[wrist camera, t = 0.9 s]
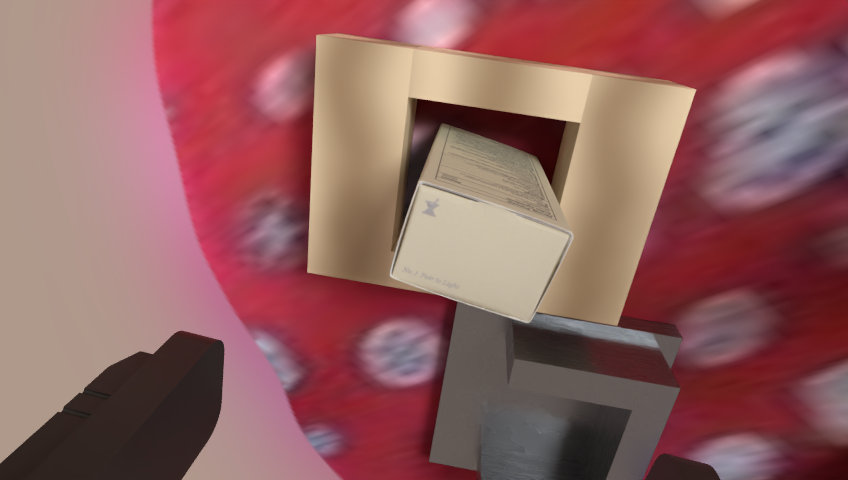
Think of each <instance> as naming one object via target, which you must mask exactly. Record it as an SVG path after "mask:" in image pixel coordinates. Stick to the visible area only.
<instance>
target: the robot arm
mask: <svg viewBox="0 0 848 480" xmlns="http://www.w3.org/2000/svg"><path fill="white" fill-rule="evenodd" d="M223 366H224V344H223V342H222V341H221V340H217V339H213V338H209V337H205V336H201V335H197V334H193V333H189V332H185V331H178V332H176V333H175V334H174V335H172V336H171V337H170V338H169V339H168V340H167V341H166V342H165V343H164V344H163V345H162V346H161V347H160V348H159V349H158V350H157V351H156V352H155V353H154V354H149V353H145V352H138V353H136V354H134V355H132V356H130V357H128V358H126V359H123V360H121V361H119V362H117V363H115V364H113V365H111V366H109V367H108V368H107V369H106V370H104V371H103V372H102V373H101V374H100V375H99V376H98V377H97V378H96V379H94V380H93V381H92V382H91V383H90V384H89V385H88V386H87V387H85V389H84V392H83V393H79V394H78V395H76V396H75V397H74V398H73V399H72V400H71V401H70V402H69V403H68V404H66V405H65V406H64V408H63V411H62V412H57V413H56V414H55V415H54V416H53V417H52V418H51V419H50V420H49V421H47V422H46V423H45V424H44V425H43V426H42V427H41V428H40V429H39V430H38V431H36V432H35V433H34V434H33V435H32V436H31V437H29V438H28V439H27V440H26V441H25V442H24V443H23V444H22V445H21V446H19V447H18V448H17V449H16V450H15V451H14V452H13V453H12V454H10V455H9V456H8V457H7V458H6V459H5V460H4V461H3V462H2V463H0V480H182V478H183V477H184V475H185V474H186V472H187V471H188V469H189V468H190V466H191V465H192V463H193V462H194V460H195V459H196V458H197V456H198V455H199V453H200V452H201V450H202V449H203V447H204V446H205V444H206V443H207V441H208V440H209V438H210V436H211V435H212V433H213V431H214V428H215V426H216V423H217V421H218V418H219V414H220V410H221V403H222V383H223ZM645 480H720V478H719V476H718V474H717V473H716V471H715V470H714V469H713V467H711V466H710V465H708V464H705V463H701V462H697V461H693V460H689V459H685V458H681V457H677V456H673V455H669V454H662V455H660V456H659V457H658V458H657V459H656V461H655V463H654V465H653V466H652V468H651V470H650V472H649V474H648V476H647V477H646V479H645Z"/></svg>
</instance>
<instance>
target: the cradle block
mask: <svg viewBox="0 0 848 480" xmlns="http://www.w3.org/2000/svg"><path fill="white" fill-rule="evenodd" d="M682 340H683V338H682V336H681V334H680V333H679V331H678V329H677V328H676V326H675V325H671V324H665V323H659V322H653V321H647V320H641V319H636V318H630V317H624V316H620V319H619V322H618V325H617V326H614V325H609V324H603V323H597V322H591V321H585V320H580V319H574V318H568V317H562V316H556V315H551V314H545V313H539V312H536V313H535V315H534V317H533V319H532V320H531V322H530V323H524V322H522V321H518V320H514V319H511V318H508V317H505V316H502V315H499V314H496V313H492V312H489V311H486V310H483V309H480V308H477V307H473V306H470V305H467V304H464V303H462V302H458V301H457V304H456V310H455V315H454V321H453V327H452V332H451V338H450V343H449V349H448V355H447V360H446V366H445V371H444V377H443V383H442V388H441V394H440V399H439V405H438V411H437V416H436V422H435V428H434V433H433V439H432V444H431V451H430V458H429V462H434V463H439V464H444V465H449V466H454V467H460V468H465V469H470V470H475V471H477V477H476V480H642V479H643V477H644V475H645V472H646V470H647V467H648V465H649V463H650V460H651V458H652V455H653V453H654V451H655V448H656V446H657V444H658V441H659V439H660V436H661V434H662V432H663V429H664V427H665V424H666V422H667V420H668V417H669V415H670V412H671V410H672V408H673V405H674V403H675V401H676V398H677V396H678V393H679V391H680V389H681V388H680V386H679V385H678V383H677V381H676V379H675V377H674V375H673V373H672V371H671V367H672V365H673V362H674V360H675V357H676V355H677V352H678V350H679V347H680V345H681V342H682Z"/></svg>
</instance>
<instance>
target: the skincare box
mask: <svg viewBox="0 0 848 480" xmlns="http://www.w3.org/2000/svg"><path fill="white" fill-rule="evenodd" d="M573 238H574V235H573V233H572V231H571V229H570V227H569V224H568V222H567V220H566V218H565V216H564V214H563V212H562V209H561V207H560V205H559V203H558V201H557V198H556V196H555V194H554V192H553V190H552V188H551V186H550V184H549V181H548V179H547V177H546V175H545V173H544V171H543V168H542V166H541V164H540V162H539V160H538V158H537V157H536V156H534V155H531V154H529V153H526V152H524V151H521V150H518V149H516V148H513V147H510V146H508V145H505V144H502V143H500V142H497V141H494V140H491V139H488V138H485V137H483V136H480V135H477V134H474V133H471V132H468V131H466V130H463V129H459V128H456V127H453V126H450V125H447V124H441V125H440V127H439V130H438V132H437V135H436V138H435V140H434V143H433V145H432V148H431V150H430V153H429V155H428V158H427V160H426V163H425V165H424V168H423V171H422V173H421V176H420V178H419V181H418V183H417V186H416V189H415V192H414V195H413V197H412V200H411V203H410V206H409V209H408V212H407V215H406V218H405V220H404V224H403V227H402V230H401V233H400V236H399V239H398V243H397V246H396V249H395V253H394V256H393V260H392V263H391V267H390V271H389V275H390V277H391V278H393V279H396V280H398V281H401V282H403V283H406V284H409V285H412V286H414V287H417V288H420V289H423V290H426V291H428V292H431V293H434V294H437V295H440V296H443V297H446V298H449V299H452V300H455V301H458V302H462V303H464V304H467V305H470V306H473V307H477V308H480V309H483V310H486V311H489V312H492V313H496V314H499V315H502V316H505V317H508V318H511V319H514V320H518V321H522V322H524V323H530V322H531V320H532V319H533V317H534V315H535V313H536V311H537V309H538V307H539V305H540V304H541V302H542V300H543V298H544V296H545V294H546V292H547V291H548V288H549V286H550V285H551V283H552V281H553V279H554V277H555V275H556V273H557V271H558V269H559V267H560V265H561V263H562V261H563V259H564V257H565V255H566V253H567V251H568V249H569V247H570V245H571V243H572V241H573Z"/></svg>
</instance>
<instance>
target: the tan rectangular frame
mask: <svg viewBox="0 0 848 480" xmlns="http://www.w3.org/2000/svg"><path fill="white" fill-rule="evenodd" d="M695 92H696V89H692V88H689V87H686V86H683V85H680V84H677V83H674V82H671V81H667V80H660V79H653V78H646V77H639V76H632V75H625V74H618V73H611V72H604V71H597V70H590V69H583V68H576V67H569V66H562V65H556V64H549V63H542V62H535V61H528V60H521V59H514V58H507V57H500V56H493V55H486V54H479V53H472V52H465V51H458V50H451V49H444V48H437V47H430V46H423V45H416V44H409V43H402V42H395V41H388V40H382V39H375V38H368V37H361V36H354V35H347V34H340V33H338V34H323V35H317V38H316V64H315V90H314V115H313V141H312V166H311V192H310V218H309V243H308V269H307V272H308V273H313V274H319V275H325V276H331V277H336V278H342V279H348V280H354V281H360V282H365V283H371V284H377V285H383V286H389V287H394V288H400V289H406V290H412V291H417V292H423V293H429V294H434V293H431V292H428V291H426V290H423V289H420V288H417V287H414V286H412V285H409V284H406V283H403V282H401V281H398V280H396V279H393V278H391V277H390V275H389V271H390V267H391V263H392V260H393V256H394V253H395V249H396V246H397V243H398V239H399V236H400V233H401V230H402V227H403V226H402V223H403V214H404V206H405V198H406V189H407V181H408V173H409V164H410V156H411V147H412V139H413V131H414V122H415V114H416V105H417V98H418V99H424V100H431V101H438V102H444V103H451V104H458V105H464V106H471V107H478V108H484V109H491V110H498V111H504V112H511V113H518V114H524V115H531V116H538V117H544V118H551V119H558V120H564V121H566V125H565V129H564V133H563V137H562V141H561V146H560V150H559V154H558V158H557V162H556V166H555V171H554V175H553V179H552V183H551V188H552V190H553V192H554V194H555V196H556V198H557V201H558V203H559V205H560V207H561V209H562V212H563V214H564V216H565V218H566V220H567V222H568V224H569V227H570V229H571V231H572V233H573V235H574V238H573V241H572V243H571V245H570V247H569V249H568V251H567V253H566V255H565V257H564V259H563V261H562V263H561V265H560V267H559V269H558V271H557V273H556V275H555V277H554V279H553V281H552V283H551V285H550V286H549V288H548V291H547V292H546V294H545V296H544V298H543V300H542V302H541V304H540V305H539V307H538V309H537V311H536V312H539V313H545V314H551V315H556V316H562V317H568V318H574V319H580V320H585V321H591V322H597V323H603V324H609V325H614V326H617V325H618V322H619V319H620V316H621V313H622V310H623V307H624V304H625V301H626V298H627V295H628V292H629V289H630V286H631V283H632V280H633V277H634V274H635V271H636V268H637V265H638V262H639V259H640V256H641V253H642V250H643V247H644V244H645V241H646V238H647V235H648V232H649V229H650V226H651V223H652V220H653V217H654V214H655V211H656V208H657V205H658V202H659V199H660V196H661V194H662V191H663V188H664V185H665V182H666V179H667V176H668V173H669V170H670V167H671V164H672V161H673V158H674V155H675V152H676V149H677V146H678V143H679V140H680V137H681V134H682V131H683V128H684V125H685V122H686V119H687V116H688V113H689V110H690V107H691V104H692V101H693V98H694V95H695ZM435 295H437V294H435Z"/></svg>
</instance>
